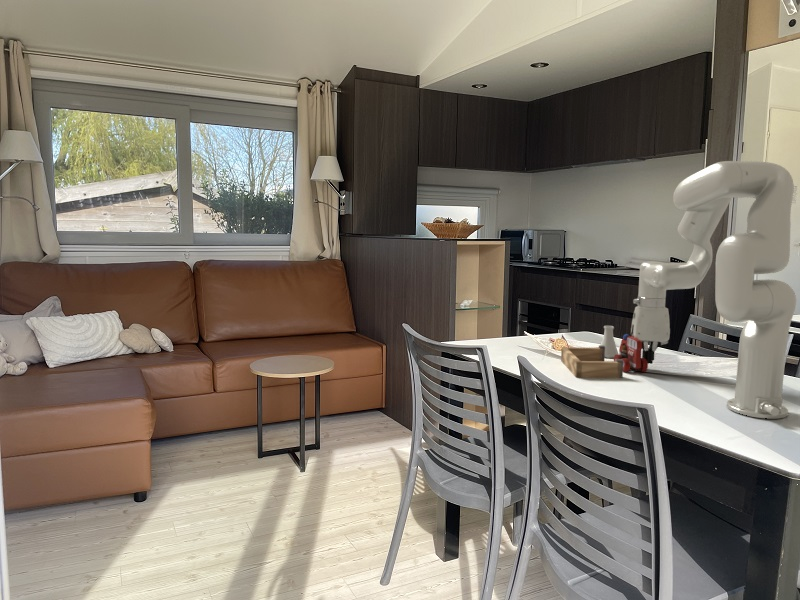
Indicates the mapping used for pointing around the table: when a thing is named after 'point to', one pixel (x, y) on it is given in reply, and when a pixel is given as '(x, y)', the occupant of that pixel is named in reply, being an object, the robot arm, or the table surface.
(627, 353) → the toy fire truck
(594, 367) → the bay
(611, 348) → the flask
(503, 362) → the table surface
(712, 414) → the table surface
